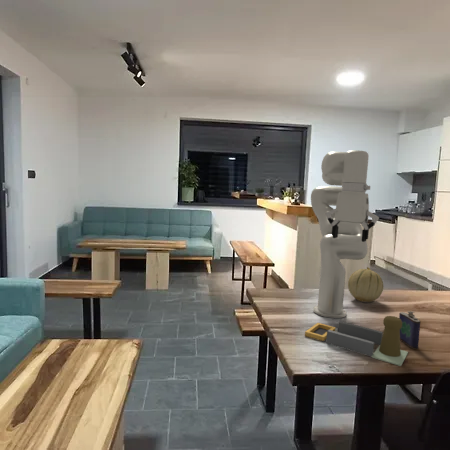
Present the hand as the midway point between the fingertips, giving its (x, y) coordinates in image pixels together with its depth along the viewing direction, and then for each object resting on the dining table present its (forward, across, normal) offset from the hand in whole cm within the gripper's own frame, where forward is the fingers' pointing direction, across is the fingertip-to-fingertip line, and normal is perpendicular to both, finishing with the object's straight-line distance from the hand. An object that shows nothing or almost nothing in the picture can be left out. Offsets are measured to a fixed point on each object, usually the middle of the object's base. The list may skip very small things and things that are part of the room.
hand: (349, 239), depth 123 cm
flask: (+33, -20, -6) cm, 39 cm away
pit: (+32, +5, +7) cm, 33 cm away
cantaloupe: (+32, +4, -43) cm, 54 cm away
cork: (+32, -17, +7) cm, 37 cm away
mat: (+32, -18, +8) cm, 38 cm away
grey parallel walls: (+32, -6, +7) cm, 34 cm away
